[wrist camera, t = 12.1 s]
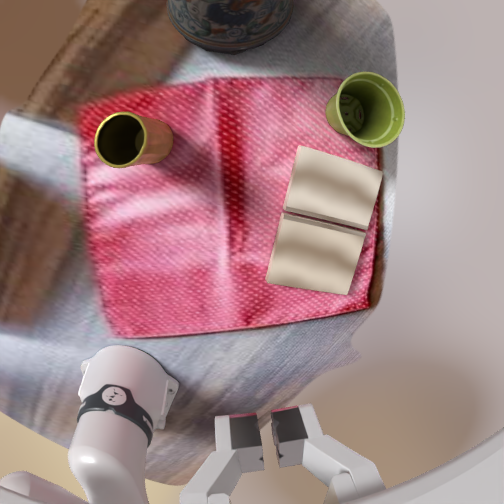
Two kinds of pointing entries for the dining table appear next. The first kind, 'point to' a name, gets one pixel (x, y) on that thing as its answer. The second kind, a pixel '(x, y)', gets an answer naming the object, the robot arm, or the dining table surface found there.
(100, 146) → the vase
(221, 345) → the dining table surface
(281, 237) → the loose plank
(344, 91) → the plant pot
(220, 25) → the beer stein
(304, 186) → the board
